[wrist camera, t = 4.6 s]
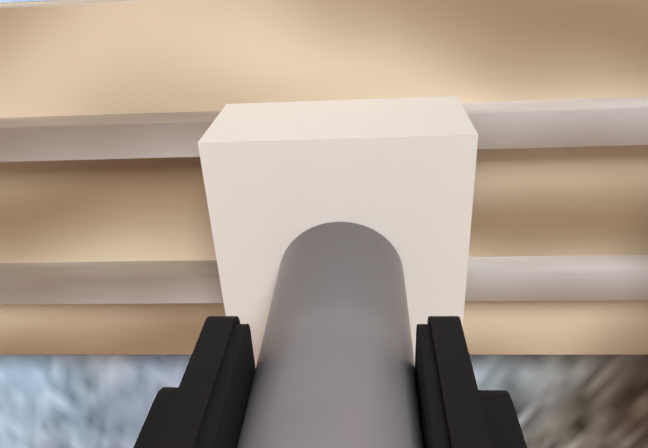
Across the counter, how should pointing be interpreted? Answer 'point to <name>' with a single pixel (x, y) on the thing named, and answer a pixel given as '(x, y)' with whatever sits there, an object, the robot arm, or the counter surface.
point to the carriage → (339, 257)
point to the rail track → (317, 85)
